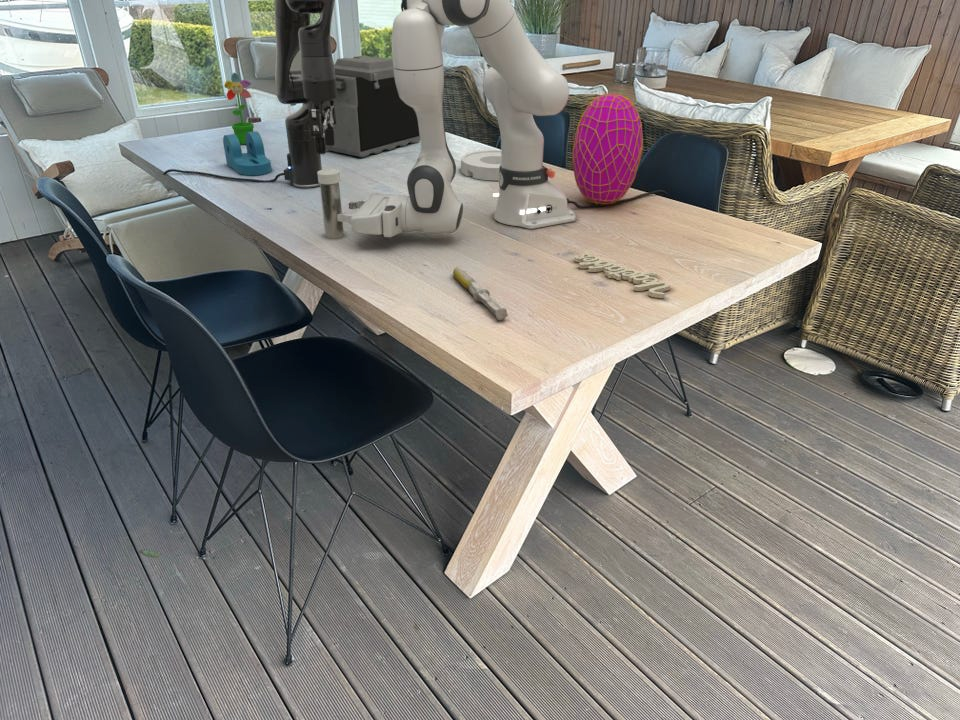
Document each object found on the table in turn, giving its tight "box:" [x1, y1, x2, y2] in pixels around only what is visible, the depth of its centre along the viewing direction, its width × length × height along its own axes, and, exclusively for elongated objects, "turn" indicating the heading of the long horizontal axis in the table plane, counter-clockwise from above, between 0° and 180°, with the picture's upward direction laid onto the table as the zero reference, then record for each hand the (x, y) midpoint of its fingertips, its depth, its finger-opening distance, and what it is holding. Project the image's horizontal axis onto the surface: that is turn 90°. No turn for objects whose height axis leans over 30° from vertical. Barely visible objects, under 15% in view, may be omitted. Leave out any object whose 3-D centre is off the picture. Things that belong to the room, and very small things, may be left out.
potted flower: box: [223, 72, 255, 145], centre depth 254 cm, size 9×8×25 cm
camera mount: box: [222, 131, 272, 176], centre depth 226 cm, size 18×10×10 cm, turn 35°
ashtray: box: [460, 149, 501, 182], centre depth 229 cm, size 23×23×4 cm
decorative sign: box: [574, 252, 671, 299], centre depth 155 cm, size 26×1×10 cm
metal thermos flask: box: [319, 182, 345, 240], centre depth 172 cm, size 5×5×16 cm
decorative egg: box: [571, 92, 644, 205], centre depth 194 cm, size 19×19×30 cm
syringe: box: [452, 266, 509, 321], centre depth 145 cm, size 25×4×3 cm, turn 21°
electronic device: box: [318, 55, 420, 159], centre depth 250 cm, size 37×22×30 cm, turn 144°
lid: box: [317, 168, 341, 184], centre depth 168 cm, size 5×5×2 cm
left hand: (326, 149), depth 165 cm, fingers open, 8 cm apart
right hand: (343, 210), depth 172 cm, fingers open, 8 cm apart
